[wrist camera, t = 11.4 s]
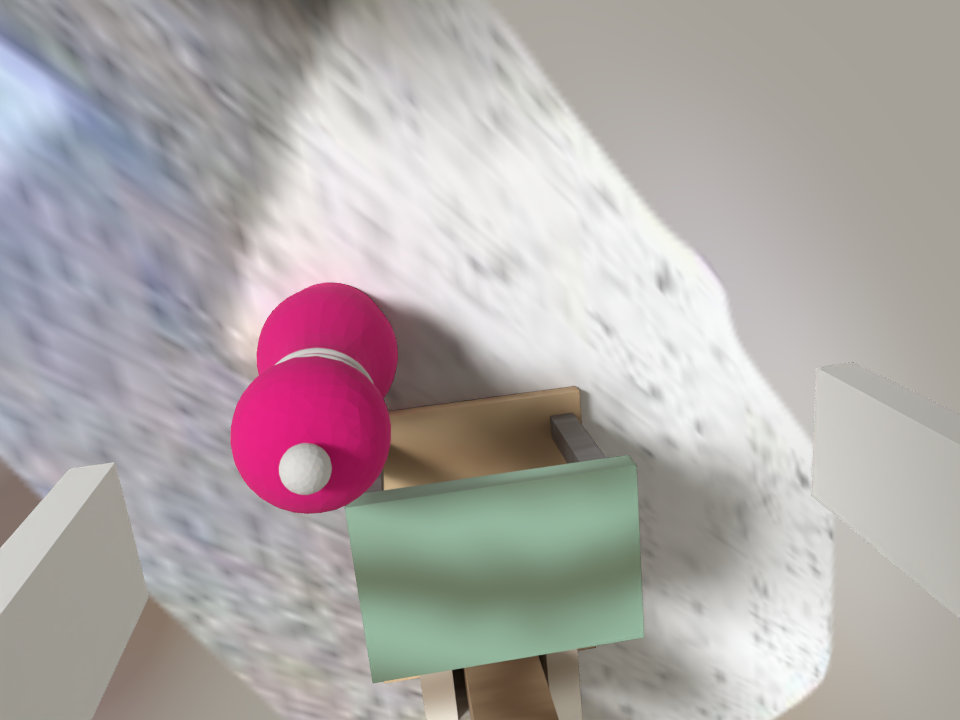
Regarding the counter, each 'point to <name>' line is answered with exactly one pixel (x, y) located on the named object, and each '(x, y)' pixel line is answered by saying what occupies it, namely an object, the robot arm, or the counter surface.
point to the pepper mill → (317, 401)
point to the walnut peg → (509, 691)
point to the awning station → (495, 546)
